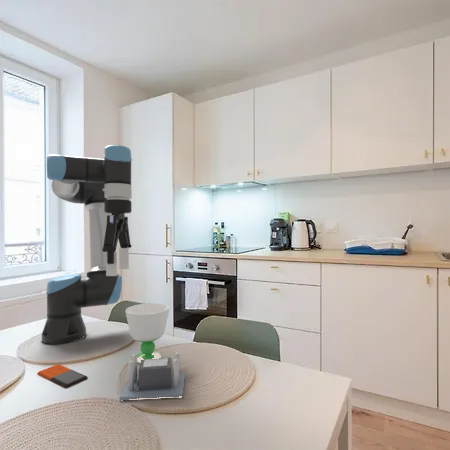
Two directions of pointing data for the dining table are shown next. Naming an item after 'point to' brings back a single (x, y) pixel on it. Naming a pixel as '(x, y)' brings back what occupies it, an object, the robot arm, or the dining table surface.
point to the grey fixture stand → (175, 391)
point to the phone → (62, 376)
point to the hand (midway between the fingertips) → (118, 272)
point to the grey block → (155, 374)
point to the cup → (147, 325)
